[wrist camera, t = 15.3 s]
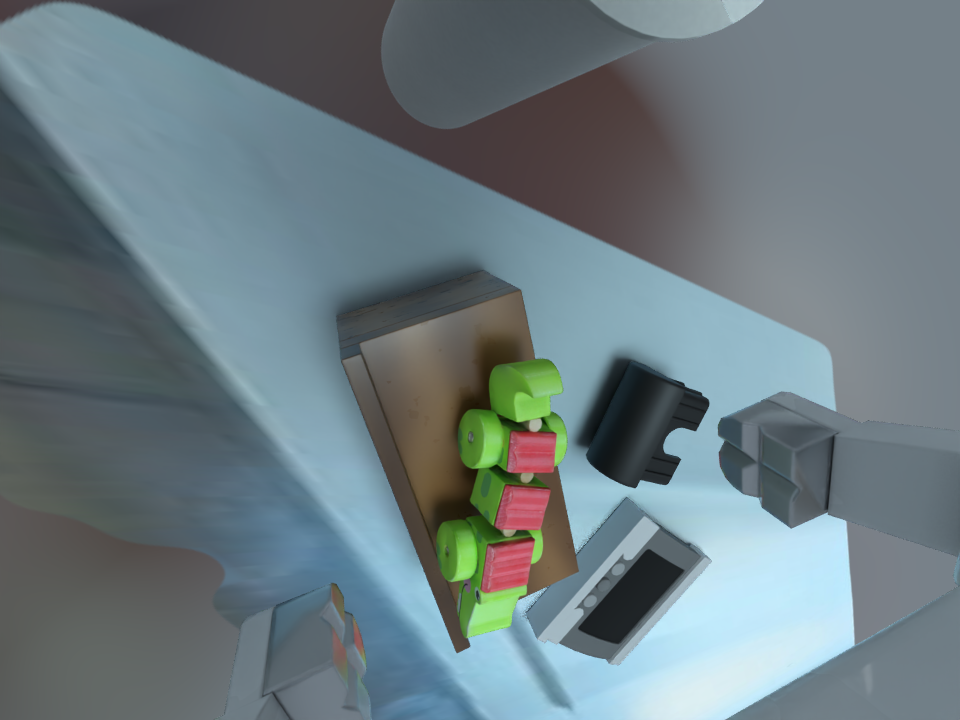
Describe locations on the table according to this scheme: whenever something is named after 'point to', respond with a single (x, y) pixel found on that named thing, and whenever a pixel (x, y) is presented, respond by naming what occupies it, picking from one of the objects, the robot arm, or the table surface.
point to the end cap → (644, 426)
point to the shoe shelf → (443, 411)
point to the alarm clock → (617, 587)
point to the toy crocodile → (503, 494)
